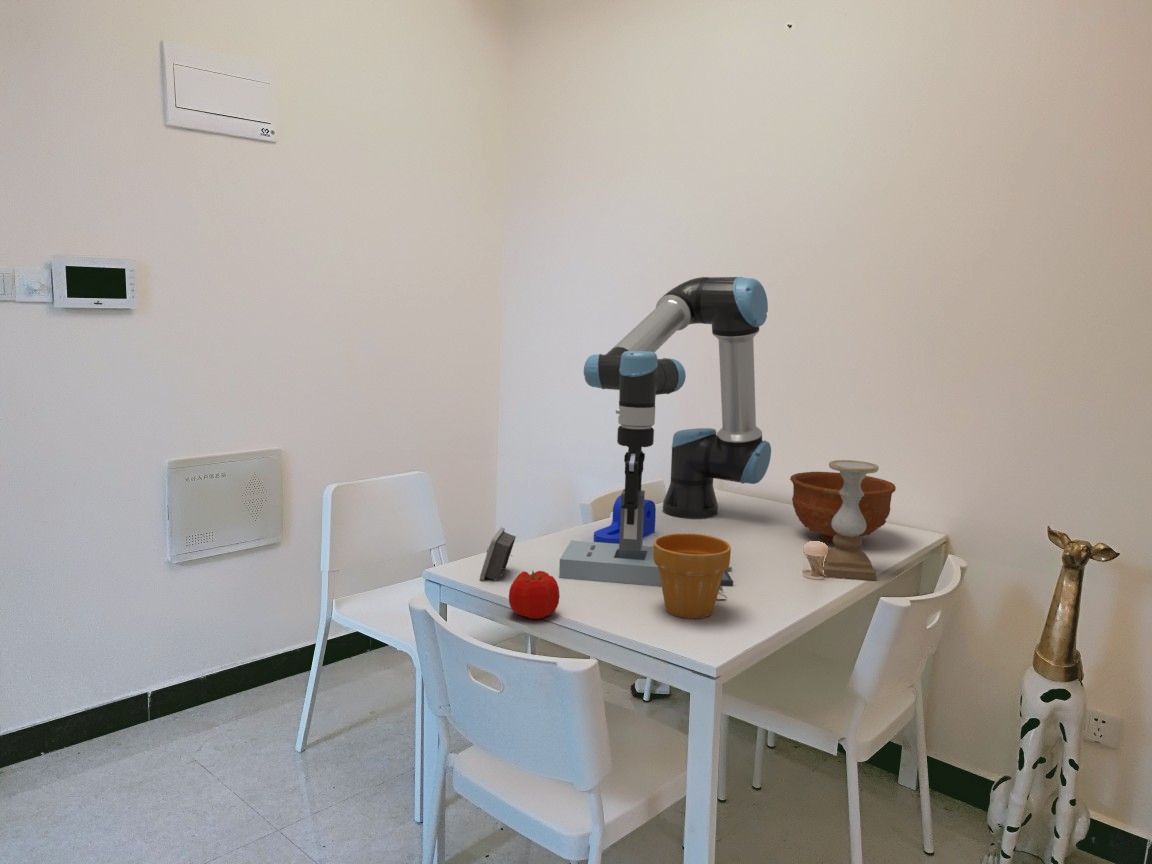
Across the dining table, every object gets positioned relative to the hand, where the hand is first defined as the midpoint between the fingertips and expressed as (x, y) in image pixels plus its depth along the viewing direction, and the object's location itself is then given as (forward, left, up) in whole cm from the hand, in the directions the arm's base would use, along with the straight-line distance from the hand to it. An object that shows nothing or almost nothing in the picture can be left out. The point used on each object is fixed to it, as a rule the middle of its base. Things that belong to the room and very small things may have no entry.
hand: (631, 535), depth 175 cm
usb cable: (-8, +14, -8) cm, 18 cm away
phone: (+1, +14, -8) cm, 16 cm away
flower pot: (+19, +13, -8) cm, 24 cm away
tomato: (+28, -15, -8) cm, 33 cm away
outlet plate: (0, -3, -8) cm, 9 cm away
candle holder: (-13, +46, -8) cm, 49 cm away
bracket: (-26, -5, -9) cm, 28 cm away
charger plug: (0, 0, -3) cm, 3 cm away
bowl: (-39, +48, -8) cm, 62 cm away
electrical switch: (+8, -27, -8) cm, 29 cm away
